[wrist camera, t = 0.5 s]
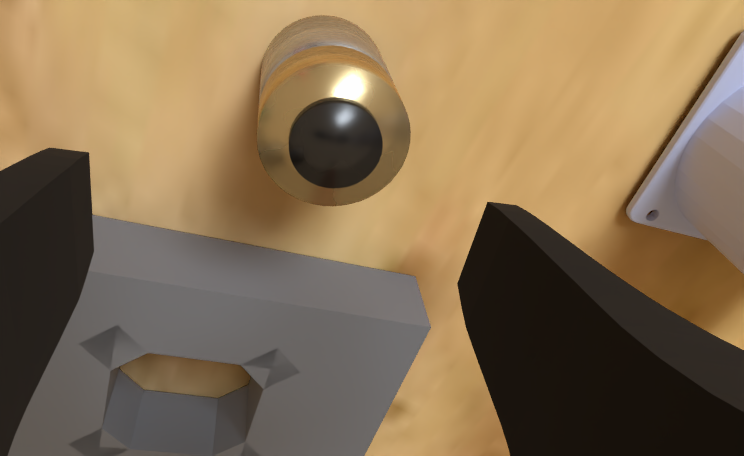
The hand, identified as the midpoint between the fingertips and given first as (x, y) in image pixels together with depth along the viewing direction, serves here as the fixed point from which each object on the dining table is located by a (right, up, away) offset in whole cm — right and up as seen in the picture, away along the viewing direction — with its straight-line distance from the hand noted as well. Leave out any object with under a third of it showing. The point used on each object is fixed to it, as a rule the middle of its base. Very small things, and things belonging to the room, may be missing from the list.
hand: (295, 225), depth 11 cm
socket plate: (-6, -5, +14) cm, 16 cm away
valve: (0, +5, +8) cm, 9 cm away
